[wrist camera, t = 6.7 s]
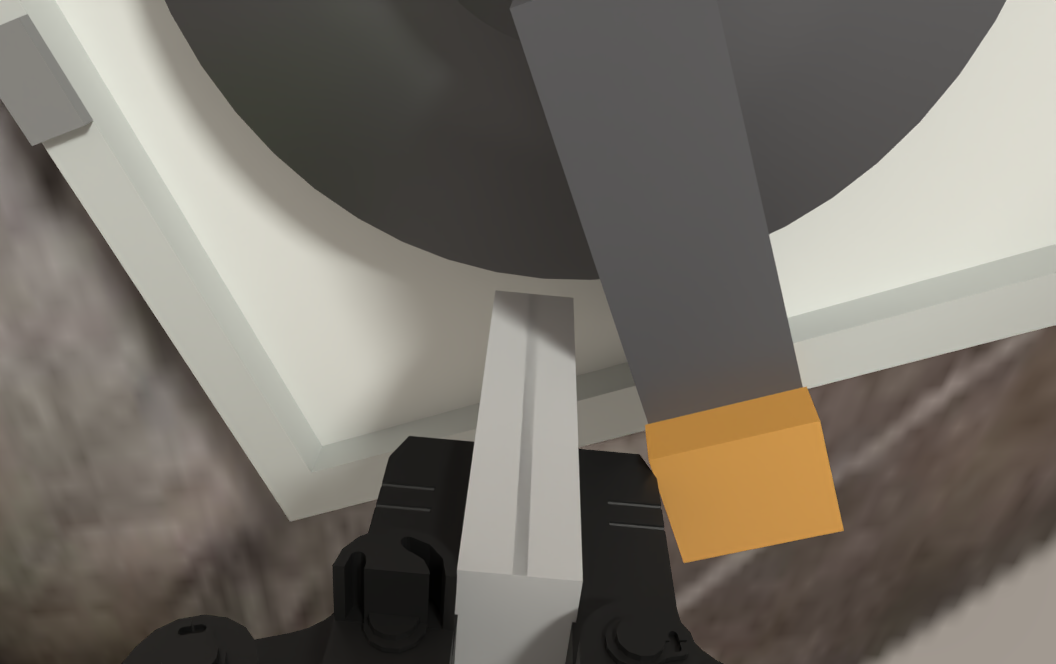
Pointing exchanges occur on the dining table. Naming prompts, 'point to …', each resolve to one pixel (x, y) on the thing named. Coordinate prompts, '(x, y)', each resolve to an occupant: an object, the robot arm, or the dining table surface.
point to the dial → (615, 180)
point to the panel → (468, 292)
